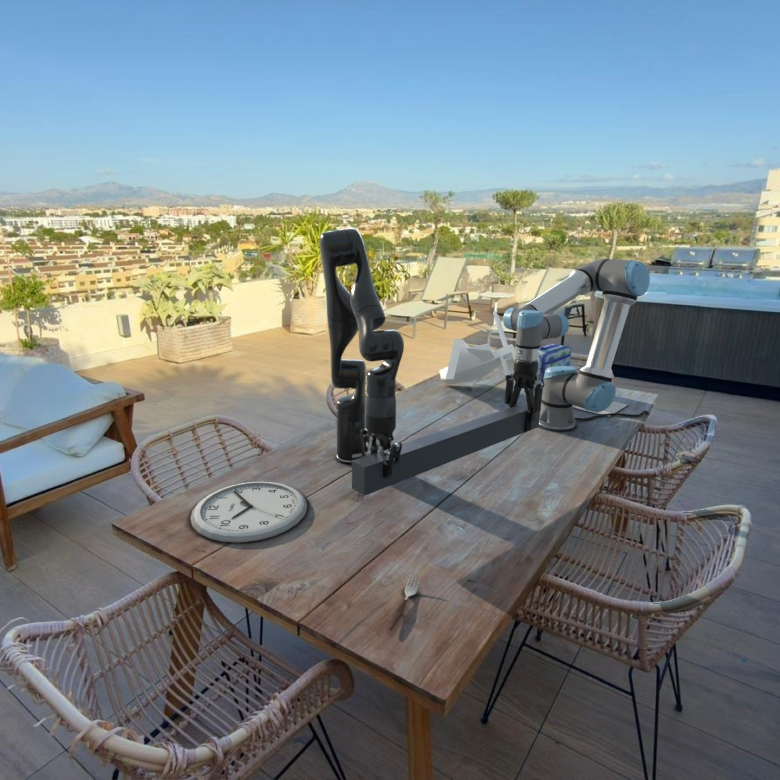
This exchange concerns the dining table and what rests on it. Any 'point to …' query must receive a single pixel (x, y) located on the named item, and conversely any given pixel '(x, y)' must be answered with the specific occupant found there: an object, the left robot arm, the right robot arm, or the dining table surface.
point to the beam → (440, 448)
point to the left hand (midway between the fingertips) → (379, 472)
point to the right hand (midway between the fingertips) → (520, 428)
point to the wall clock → (248, 512)
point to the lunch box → (552, 358)
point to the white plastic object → (477, 360)
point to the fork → (410, 592)
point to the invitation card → (612, 408)
